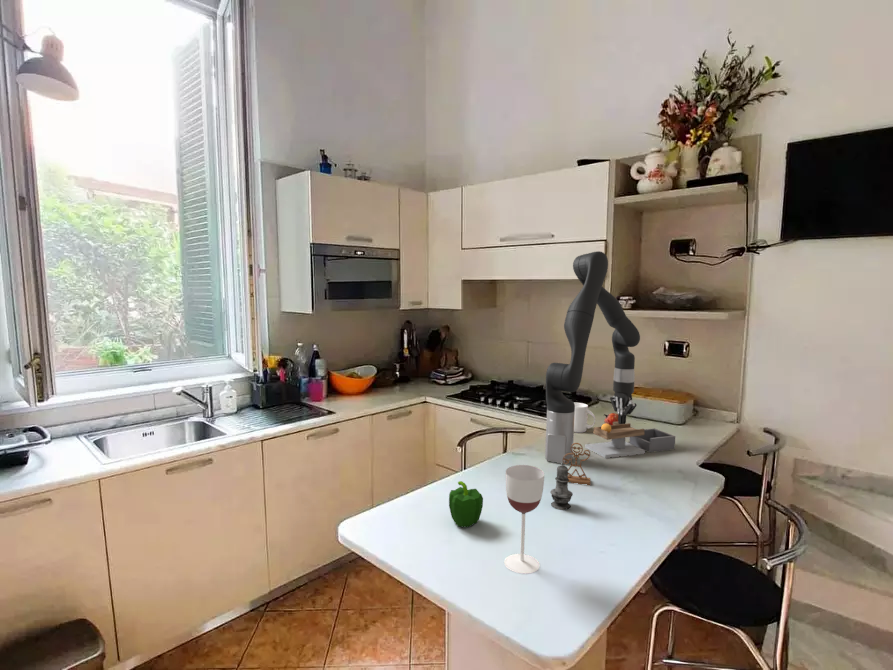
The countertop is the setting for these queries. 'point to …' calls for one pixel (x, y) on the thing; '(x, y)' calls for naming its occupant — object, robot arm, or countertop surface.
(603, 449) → the base
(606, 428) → the ball
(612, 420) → the pomegranate
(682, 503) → the countertop surface
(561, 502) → the salt shaker
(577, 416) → the mug
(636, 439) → the grey open box
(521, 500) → the wineglass
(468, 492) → the bell pepper
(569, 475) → the gingerbread man figurine
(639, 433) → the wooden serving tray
